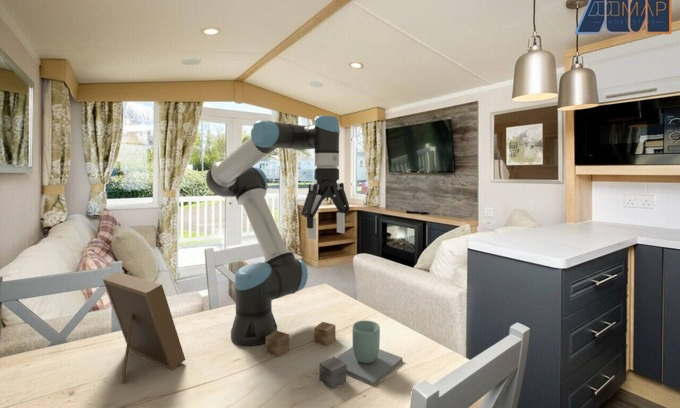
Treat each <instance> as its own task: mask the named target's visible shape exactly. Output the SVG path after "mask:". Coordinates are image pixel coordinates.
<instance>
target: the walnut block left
mask: <svg viewBox="0 0 680 408" xmlns="http://www.w3.org/2000/svg"><path fill="white" fill-rule="evenodd" d="M313 331H314V333H313V336H314V337H313V338H314V339H313V340H314V341H313V342H314V344H315V343H316V344H319V345H323V346H326V347H328V346H330V344H332V343H333V342H334V341H336V324H333V323H328V322H325V321H321V322H320V323H319V324H317V325H316V326H314V328H313Z"/></svg>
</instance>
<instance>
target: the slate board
mask: <svg viewBox="0 0 680 408" xmlns="http://www.w3.org/2000/svg"><path fill="white" fill-rule="evenodd" d="M335 357H336V356H335ZM336 358H338V359H339V360H341V361H343V362H344V363H346V375H350V376H351V377H354V378H356V379H358V380H360V381H362V382H365V383H367V384H369V385H371V386H373V387H374V386H376V385H377V384H378V383H379V382H381V380H382V379H383V378H385V377H386V376H387V375H388V374H389V373H390V372H391V371H393V370H395V368H397V366H398V365H400V364H401V363H402V362H403V357H402V356H398V355H396V354H393V353H390V352H388V351H386V350H382V349H381V348H379V353H378V357H377V359H376V360H375V361H374V362H372V363H368V364H366V363H361V362H359V361H358V360H357V359H356V358H355V356H354V352H353V346H352V347H350V348H349V349H347V350H345V351H343V353H341V354H340V355H338V356H337V357H336Z"/></svg>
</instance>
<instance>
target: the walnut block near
mask: <svg viewBox="0 0 680 408" xmlns="http://www.w3.org/2000/svg"><path fill="white" fill-rule="evenodd" d="M289 350H290V334H289V333H286V332H282V331H279V330H277V331H275V332H273V333H272V334H270V335H268V336H267V337H266V343H265V353H266V354H269V355H271V356H275V357H279V358H280V356H283V355H284V354H285V353H286V352H288V351H289Z"/></svg>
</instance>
